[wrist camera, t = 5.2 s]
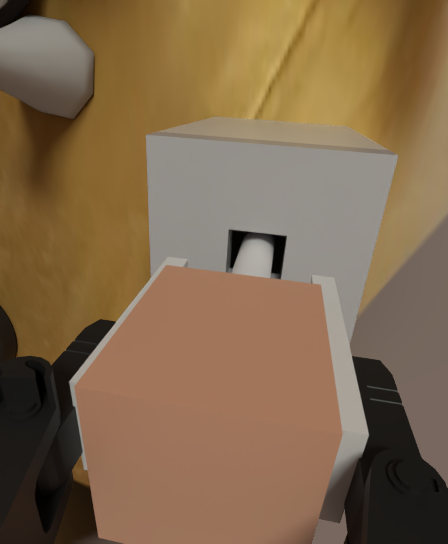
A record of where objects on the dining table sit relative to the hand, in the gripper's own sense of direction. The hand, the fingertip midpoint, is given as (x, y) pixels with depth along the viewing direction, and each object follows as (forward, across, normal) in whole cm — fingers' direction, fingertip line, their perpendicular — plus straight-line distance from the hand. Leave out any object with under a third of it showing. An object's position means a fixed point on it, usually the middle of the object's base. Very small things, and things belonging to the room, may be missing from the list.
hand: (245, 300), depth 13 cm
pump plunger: (+13, 0, 0) cm, 13 cm away
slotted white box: (+19, 0, 0) cm, 19 cm away
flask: (+20, +18, -8) cm, 28 cm away
